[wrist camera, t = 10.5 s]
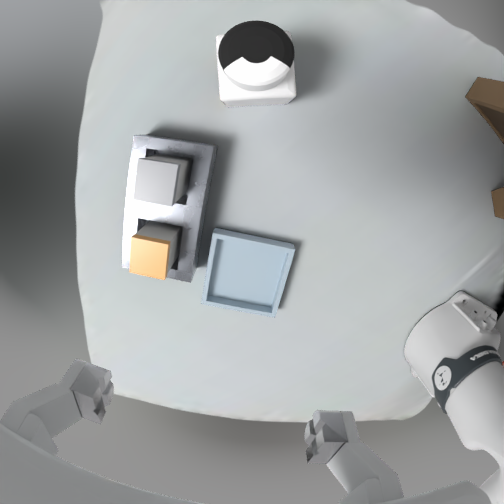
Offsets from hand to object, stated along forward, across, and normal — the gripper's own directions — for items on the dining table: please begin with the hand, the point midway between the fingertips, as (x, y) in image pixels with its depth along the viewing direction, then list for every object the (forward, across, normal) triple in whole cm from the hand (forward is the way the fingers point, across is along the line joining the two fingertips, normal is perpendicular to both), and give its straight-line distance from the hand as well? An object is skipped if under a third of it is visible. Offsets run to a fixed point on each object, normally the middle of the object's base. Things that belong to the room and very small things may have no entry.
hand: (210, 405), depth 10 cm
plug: (+27, +9, +5) cm, 29 cm away
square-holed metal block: (+28, +9, +1) cm, 29 cm away
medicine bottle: (+28, +2, -16) cm, 33 cm away
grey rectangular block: (+27, +9, -3) cm, 29 cm away
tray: (+28, -2, +8) cm, 29 cm away
